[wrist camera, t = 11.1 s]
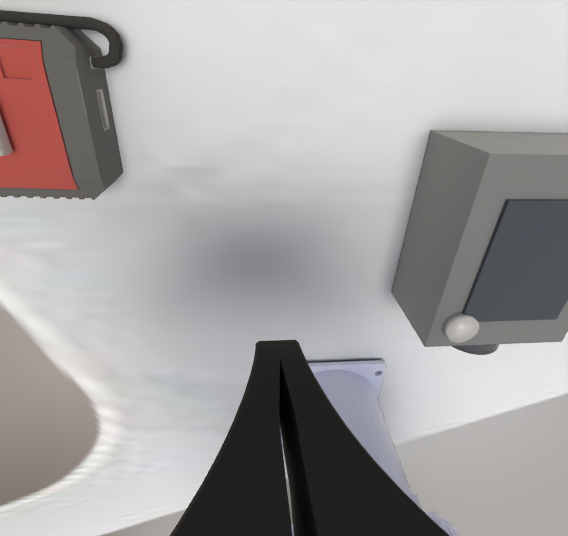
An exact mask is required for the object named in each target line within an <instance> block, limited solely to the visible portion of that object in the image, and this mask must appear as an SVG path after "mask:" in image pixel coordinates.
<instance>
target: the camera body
mask: <svg viewBox="0 0 568 536" xmlns="http://www.w3.org/2000/svg"><path fill="white" fill-rule="evenodd" d="M392 294H393V295H394V297H395V299H396V300H397V302H398V304H399V305H400V307H401V309H402V310H403V312H404V313H405V315H406V317H407V318H408V320H409V322H410V323H411V325H412V327H413V328H414V330H415V331H416V333H417V335H418V336H419V338H420V340H421V341H422V343H423V345H424V346H425V347H433V346H452V347H454V348H456V349H458V350H461V351H464V352H467V353H471V354H477V355H485V354H490V353H493V352H494V351H496V350H497V348H498V346H499V344H512V343H538V342H562V340H563V338H564V337H565V336H568V133H523V132H479V131H435V130H431V132H430V136H429V140H428V144H427V148H426V152H425V156H424V161H423V165H422V169H421V173H420V177H419V181H418V185H417V189H416V194H415V198H414V202H413V206H412V210H411V214H410V218H409V222H408V227H407V231H406V235H405V239H404V243H403V247H402V251H401V255H400V260H399V264H398V268H397V272H396V276H395V280H394V284H393V288H392Z"/></svg>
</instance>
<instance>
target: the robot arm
mask: <svg viewBox="0 0 568 536" xmlns="http://www.w3.org/2000/svg"><path fill="white" fill-rule="evenodd" d="M385 370H386V365H385V363H384V361H382V360H372V361H348V362H324V363H307V361H306V359H305V357H304V354H303V352H302V350H301V347H300V345H299V342H297V341H296V340H279V341H259V342H258V343H256V350H255V357H254V362H253V366H252V370H251V374H250V377H249V380H248V383H247V387H246V390H245V393H244V396H243V398H242V401H241V404H240V406H239V409H238V411H237V414H236V416H235V419H234V421H233V423H232V426H231V428H230V430H229V432H228V435H227V437H226V439H225V441H224V443H223V445H222V447H221V449H220V451H219V453H218V455H217V457H216V459H215V461H214V463H213V464H212V466H211V468H210V470H209V472H208V474H207V476H206V477H205V479H204V481H203V483H202V485H201V486H200V488H199V490H198V491H197V493H196V495H195V496H194V498H193V500H192V501H191V503H190V504H189V506H188V508H187V509H186V511H185V513H184V514H183V516H182V518H181V519H180V521H179V522H178V524H177V525H176V527H175V529H174V530H173V532H172V533H171V535H170V536H459V535H458V534H457V532H456V530H455V528H454V527H453V525H452V524H451V523H450V522H449V521H447V520H446V519H444V518H443V517H441V516H440V515H439V514H438V513H437V512H435V511H432V512H428V513H425V512H424V511H423V510H422V508H421V505H420V503H419V500H418V497H417V495H416V494H412V492H411V489H410V486H409V484H408V481H407V479H406V476H405V473H404V471H403V468H402V465H401V463H400V460H399V457H398V454H397V452H396V449H395V446H394V444H393V441H392V438H391V436H390V433H389V430H388V428H387V425H386V422H385V420H384V417H383V414H382V412H381V409H380V406H379V404H378V401H377V399H378V395H379V392H380V388H381V384H382V381H383V377H384V373H385ZM282 445H283V448H284V454H285V460H286V467H287V473H288V479H289V486H290V494H291V506H292V518H293V524H291V519H290V511H289V503H288V495H287V487H286V478H285V469H284V460H283V451H282Z"/></svg>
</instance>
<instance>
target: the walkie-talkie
mask: <svg viewBox="0 0 568 536" xmlns="http://www.w3.org/2000/svg"><path fill="white" fill-rule="evenodd" d="M71 28H76V29H71ZM77 29H89V30H95V31H98V32H100V33H101V34H103V35H104V36H105V37H107V39H108V41H109V53H108V55H107V56H103V57H102V53H101V49H100V48H99V47H98V46H97V45H96V44H95V43H94V42H93V41H91V40H90V39H89V38H88V37H87V36H86V35H85V34H84V33H83V32H82V31H81V30H77ZM122 48H123V43H122V41H121V38H120V36H119V34H118V33H117V32H116V30H115V29H114V28H113V27H111V26H110V25H108V24H107V23H104V22H102V21H99V20H97V19H94V18H90V17H78V16H65V15H53V14H40V13H27V12H15V11H3V10H0V196H1V197H7V196H14V197H20V196H27V197H28V198H32V197H34V196H39V197H41V198H46V197H53V198H54V199H58V198H60V197H66V198H67V199H71V198H73V197H78V198H79V199H85V198H92V199H93V200H94V199H95V198H97V197H98V196H99V195H100V194H101V193H102V192H103V191H104V190H106V189H107V188H108V187H109V186H110V185H111V184H112V183H113V182H114V181H115V180H116V179H117V178H118V177H119V176H120V175H121V174H122V173H123V168H122V163H121V157H120V152H119V146H118V141H117V135H116V130H115V124H114V119H113V113H112V108H111V103H110V97H109V92H108V86H107V81H106V75H105V70H104V68H110V67H112V66H115V65H117V64H118V63H119V62H120V60H121V59H122Z"/></svg>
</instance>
